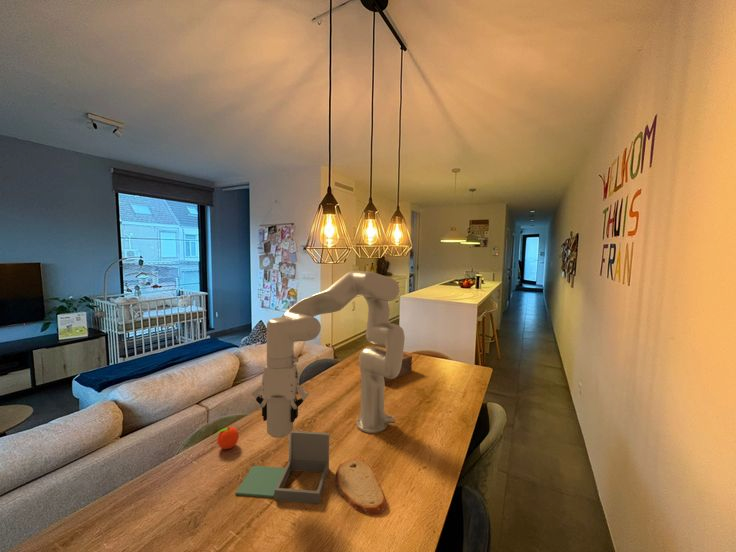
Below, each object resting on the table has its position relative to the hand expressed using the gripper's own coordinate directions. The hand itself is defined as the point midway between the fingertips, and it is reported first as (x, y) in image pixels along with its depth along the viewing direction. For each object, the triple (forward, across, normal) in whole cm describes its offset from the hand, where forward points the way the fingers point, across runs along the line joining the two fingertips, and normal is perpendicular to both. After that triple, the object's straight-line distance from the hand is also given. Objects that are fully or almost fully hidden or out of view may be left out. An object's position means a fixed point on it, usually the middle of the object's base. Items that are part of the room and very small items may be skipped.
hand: (280, 418), depth 89 cm
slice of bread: (+21, -24, -1) cm, 32 cm away
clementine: (+20, +24, -15) cm, 35 cm away
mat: (+20, +5, 0) cm, 21 cm away
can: (+4, 0, 0) cm, 4 cm away
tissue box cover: (+20, -34, -86) cm, 94 cm away
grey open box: (+20, -7, 0) cm, 21 cm away
